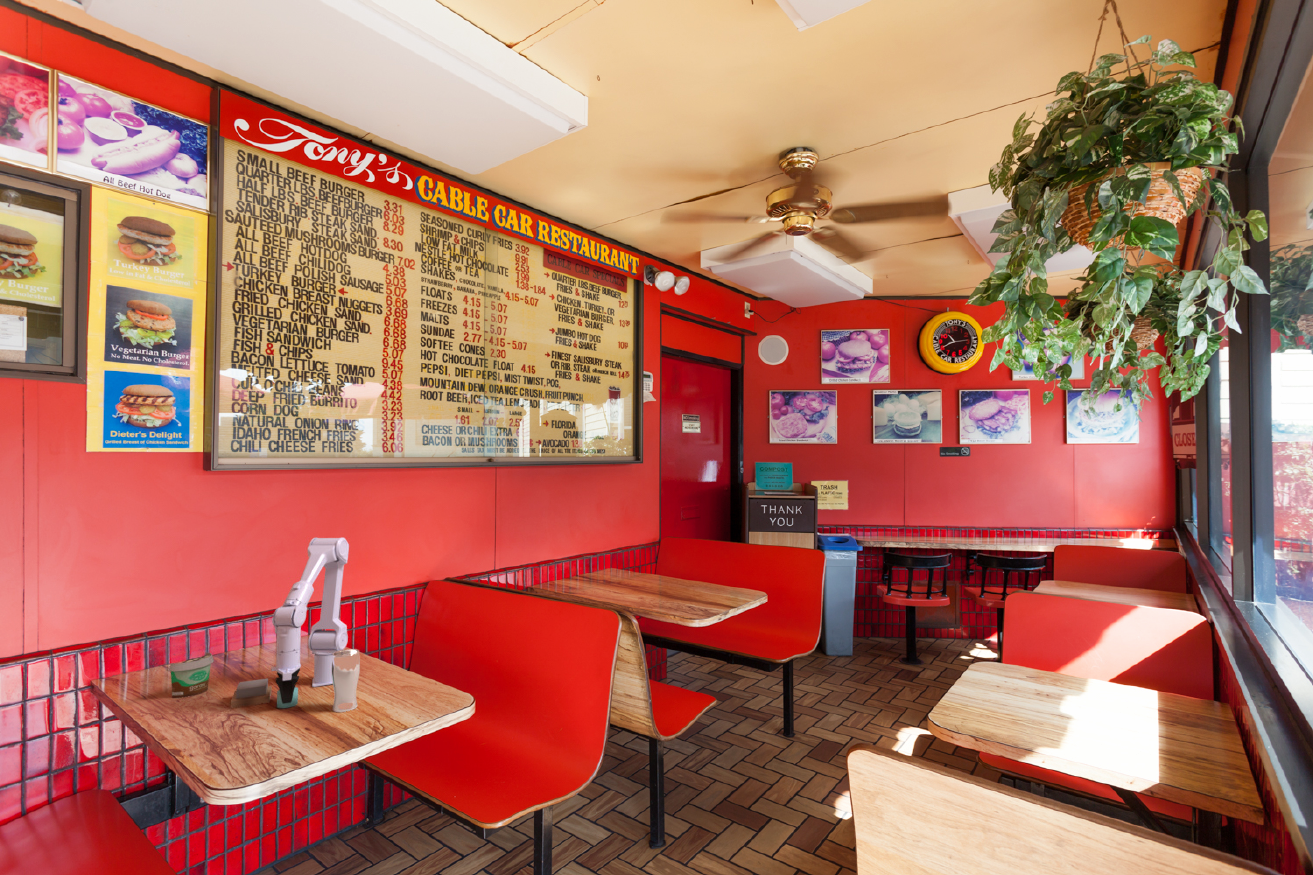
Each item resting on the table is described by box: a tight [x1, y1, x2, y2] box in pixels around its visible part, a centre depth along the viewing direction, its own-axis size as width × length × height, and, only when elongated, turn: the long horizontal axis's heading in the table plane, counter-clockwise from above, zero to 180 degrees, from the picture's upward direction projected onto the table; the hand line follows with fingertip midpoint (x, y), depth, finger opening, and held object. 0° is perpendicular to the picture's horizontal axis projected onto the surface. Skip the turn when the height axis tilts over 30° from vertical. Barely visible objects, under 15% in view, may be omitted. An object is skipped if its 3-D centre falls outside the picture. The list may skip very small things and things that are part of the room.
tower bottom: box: [230, 685, 273, 709], centre depth 179 cm, size 9×9×2 cm
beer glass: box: [332, 648, 361, 713], centre depth 172 cm, size 7×7×15 cm
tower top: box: [235, 678, 269, 699], centre depth 179 cm, size 7×7×2 cm
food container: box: [168, 651, 215, 699], centre depth 185 cm, size 12×6×10 cm, turn 168°
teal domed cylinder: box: [276, 686, 299, 709], centre depth 174 cm, size 5×5×4 cm
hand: (287, 699), depth 174 cm, fingers closed on teal domed cylinder, 5 cm apart
